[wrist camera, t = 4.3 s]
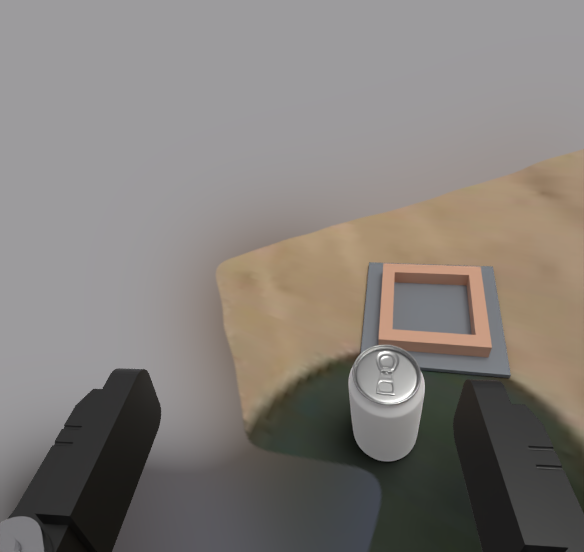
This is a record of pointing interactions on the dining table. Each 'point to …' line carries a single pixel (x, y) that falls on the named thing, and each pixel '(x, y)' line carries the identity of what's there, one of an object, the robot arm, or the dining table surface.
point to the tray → (437, 316)
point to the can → (386, 401)
